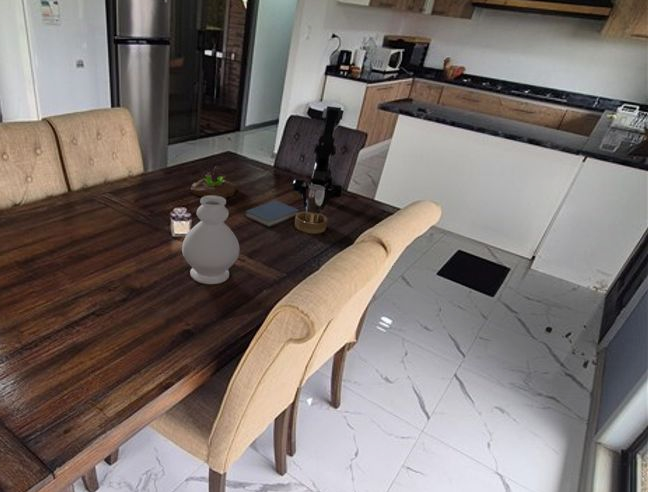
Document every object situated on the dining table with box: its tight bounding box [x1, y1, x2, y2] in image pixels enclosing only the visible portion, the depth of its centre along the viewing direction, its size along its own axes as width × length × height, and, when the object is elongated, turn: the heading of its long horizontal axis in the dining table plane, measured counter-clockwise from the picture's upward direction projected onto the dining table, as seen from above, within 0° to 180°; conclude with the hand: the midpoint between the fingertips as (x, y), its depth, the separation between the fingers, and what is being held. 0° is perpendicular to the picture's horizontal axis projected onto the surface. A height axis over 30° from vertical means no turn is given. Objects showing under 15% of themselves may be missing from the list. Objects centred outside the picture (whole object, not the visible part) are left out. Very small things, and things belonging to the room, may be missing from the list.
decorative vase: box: [181, 195, 240, 285], centre depth 140 cm, size 18×18×25 cm
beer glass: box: [304, 183, 326, 223], centre depth 178 cm, size 7×7×15 cm
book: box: [244, 200, 300, 228], centre depth 189 cm, size 19×13×2 cm
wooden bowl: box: [293, 210, 329, 235], centre depth 182 cm, size 12×12×4 cm
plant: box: [190, 164, 238, 200], centre depth 206 cm, size 20×20×11 cm
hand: (313, 208), depth 177 cm, fingers closed on beer glass, 6 cm apart
